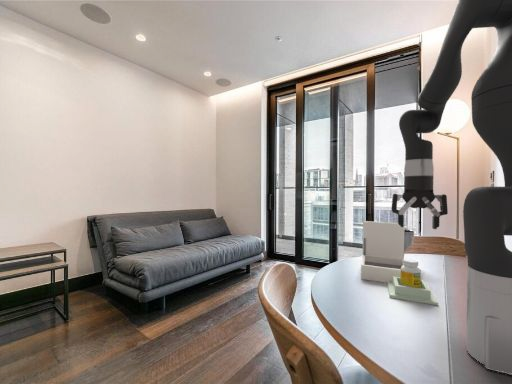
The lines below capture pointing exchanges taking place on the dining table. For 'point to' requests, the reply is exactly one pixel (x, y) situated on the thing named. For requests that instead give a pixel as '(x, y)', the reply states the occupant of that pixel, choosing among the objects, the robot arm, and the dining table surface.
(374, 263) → the case
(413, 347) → the dining table surface
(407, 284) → the supplement bottle
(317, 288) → the dining table surface
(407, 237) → the wine glass
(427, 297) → the sage holder
